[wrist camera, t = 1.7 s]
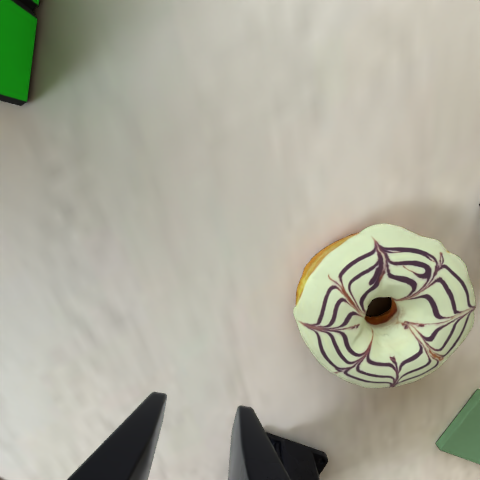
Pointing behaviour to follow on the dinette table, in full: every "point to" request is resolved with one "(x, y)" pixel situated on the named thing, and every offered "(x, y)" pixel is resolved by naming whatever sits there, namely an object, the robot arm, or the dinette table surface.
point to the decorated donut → (391, 322)
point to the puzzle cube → (16, 48)
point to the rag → (464, 432)
